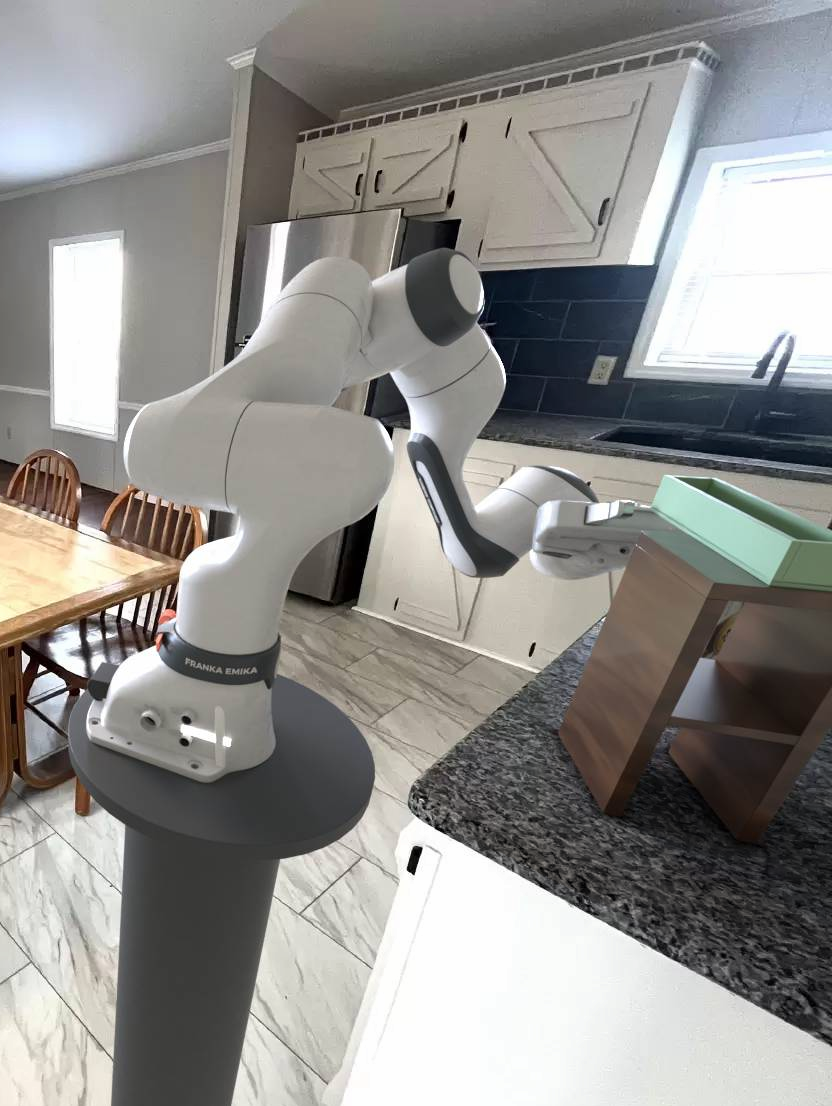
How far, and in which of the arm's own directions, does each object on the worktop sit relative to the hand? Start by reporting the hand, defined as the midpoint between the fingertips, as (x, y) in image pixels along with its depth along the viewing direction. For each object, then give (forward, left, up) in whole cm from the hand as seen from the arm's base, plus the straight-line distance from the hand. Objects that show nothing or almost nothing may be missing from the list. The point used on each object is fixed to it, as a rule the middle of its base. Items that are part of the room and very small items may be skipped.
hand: (680, 511), depth 69 cm
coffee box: (+19, +22, -27) cm, 40 cm away
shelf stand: (0, -15, -26) cm, 30 cm away
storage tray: (0, -10, 0) cm, 10 cm away
